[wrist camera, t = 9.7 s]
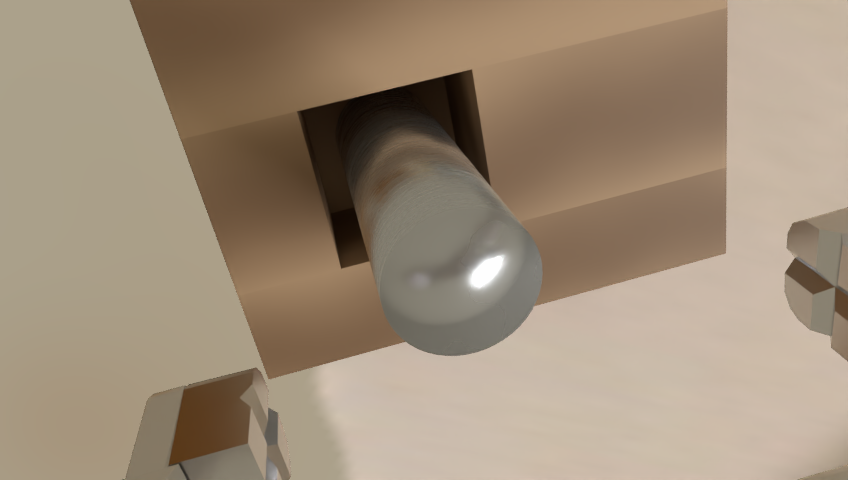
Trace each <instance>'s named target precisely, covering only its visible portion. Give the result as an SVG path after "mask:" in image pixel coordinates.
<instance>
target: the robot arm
mask: <svg viewBox="0 0 848 480" xmlns="http://www.w3.org/2000/svg"><path fill="white" fill-rule="evenodd" d="M787 249H788V250H789V251H790V252H791V253H792V255H793V256H794V257H795V259H794V260H793V262H792V263H791V265H790V266H789V268H788V269H787V271H786V272H785V294H786V297H787V300H788V303H789V306H790V309H791V310H792V311H793V313H794V314H795V316H796V317H797V319H798V320H799V321H800V322H801V323H803V324H804V325H805V326H806V327H807V328H808V329H809V330H812V331H815V332H819V333H822V334H825V335H829V336H830V339H831V348H832V349H833V350H835V351H836V352H837V353H838V354H840V355H841V356H842V357H843V358H844V359H846V360H847V361H848V207H847V208H843V209H840V210H836V211H833V212H829V213H826V214H822V215H819V216H815V217H812V218H808V219H805V220H801V221H798V222H794V223H793V224H792V226H791V228H790V230H789V232H788V237H787ZM268 392H269V390H268V387H267V385H266V383H265V380H264V378H263V376H262V374H261V372H260V371H259V370H258V369H257V368H253V369H249V370H245V371H241V372H237V373H233V374H229V375H225V376H221V377H217V378H213V379H209V380H205V381H201V382H197V383H193V384H189V385H188V386H181V387H177V388H174V389H170V390H166V391H163V392H159V393H155V394H153V395H152V396H151V397H149V398H148V400H147V402H146V406H145V409H144V413H143V417H142V420H141V424H140V427H139V431H138V435H137V438H136V442H135V445H134V449H133V452H132V456H131V460H130V463H129V467H128V470H127V474H126V478H125V479H123V480H289V479H290V477H291V467H290V456H289V450H288V443H287V439H286V435H285V432H284V429H283V425H282V423H281V420H280V417H279V415H278V413H277V412H275V411H273V410H271V409H270V408H268ZM798 480H848V465H845V466H842V467H838V468H835V469H831V470H828V471H825V472H821V473H818V474H814V475H811V476H808V477H804V478H801V479H798Z"/></svg>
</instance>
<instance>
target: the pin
mask: <svg viewBox="0 0 848 480" xmlns="http://www.w3.org/2000/svg"><path fill="white" fill-rule="evenodd" d="M336 141H337V146H338V149H339V153H340V157H341V160H342V164H343V167H344V171H345V175H346V178H347V182H348V186H349V189H350V193H351V196H352V200H353V204H354V207H355V211H356V214H357V218H358V222H359V225H360V229H361V233H362V236H363V240H364V243H365V247H366V251H367V254H368V258H369V261H370V265H371V269H372V272H373V276H374V280H375V283H376V287H377V290H378V294H379V298H380V301H381V305H382V308H383V311H384V314H385V317H386V319H387V320H388V322H389V324H390V326H391V327H392V328H393V330H394V331H395V332H396V333H397V334H398V335H399V336H400V337H401V338H402V339H403V340H404V341H406V342H407V343H408V344H410V345H412V346H414V347H415V348H417V349H420V350H422V351H425V352H428V353H432V354H436V355H444V356H458V355H466V354H471V353H475V352H478V351H481V350H484V349H487V348H489V347H491V346H493V345H495V344H497V343H499V342H500V341H502V340H504V339H505V338H506V337H508V336H509V335H510V334H512V333H513V332H514V331H515V330H516V329H517V328H518V327H519V326H520V325H521V324H522V323H523V322H524V320H525V319H526V318H527V317H528V315H529V314H530V312H531V311H532V309H533V307H534V305H535V303H536V301H537V298H538V295H539V293H540V288H541V284H542V274H543V272H542V261H541V256H540V253H539V250H538V248H537V245H536V243H535V242H534V240H533V238H532V237H531V235H530V234H529V233H528V232H527V230H526V229H525V228H524V227H523V225H522V224H521V223H520V222H519V221H518V219H517V218H516V217H515V216H514V214H513V213H512V212H511V211H510V210H509V208H508V207H507V206H506V205H505V203H504V202H503V201H502V200H501V199H500V197H499V196H498V195H497V194H496V192H495V191H494V190H493V189H492V188H491V186H490V185H489V184H488V183H487V181H486V180H485V179H484V178H483V177H482V175H481V174H480V173H479V172H478V170H477V169H476V168H475V167H474V166H473V164H472V163H471V162H470V161H469V159H468V158H467V157H466V156H465V155H464V153H463V152H462V151H461V150H460V148H459V147H458V146H457V145H456V144H455V142H454V141H453V140H452V139H451V137H450V136H449V135H448V134H447V133H446V131H445V130H444V129H443V128H442V126H441V125H440V124H439V123H438V122H437V120H436V119H435V118H434V117H433V115H432V114H431V113H430V112H429V111H428V109H427V108H426V107H425V106H424V104H423V103H422V102H421V101H420V100H419V99H418V98H417V97H416V96H415V95H413V94H412V93H411V92H409V91H407V90H405V89H402V88H400V87H396V88H392V89H388V90H384V91H380V92H375V93H371V94H367V95H363V96H359V97H355V98H352V99H351V100H350V101H349V102H348V103H347V104H346V106H345V107H344V109H343V110H342V112H341V114H340V116H339V119H338V122H337V127H336Z"/></svg>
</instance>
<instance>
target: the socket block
mask: <svg viewBox="0 0 848 480" xmlns="http://www.w3.org/2000/svg"><path fill="white" fill-rule="evenodd" d="M130 2H131V5H132V8H133V10H134V13H135V16H136V18H137V21H138V24H139V27H140V29H141V32H142V35H143V37H144V40H145V43H146V46H147V49H148V51H149V54H150V57H151V59H152V62H153V65H154V68H155V70H156V73H157V76H158V79H159V81H160V84H161V87H162V90H163V92H164V95H165V98H166V100H167V103H168V105H169V109H170V111H171V114H172V117H173V120H174V122H175V125H176V128H177V131H178V133H179V136H180V139H181V141H182V144H183V147H184V150H185V152H186V155H187V158H188V161H189V163H190V166H191V168H192V171H193V174H194V177H195V180H196V182H197V185H198V188H199V190H200V193H201V196H202V199H203V202H204V204H205V207H206V210H207V212H208V215H209V218H210V221H211V223H212V226H213V229H214V231H215V234H216V237H217V240H218V242H219V245H220V248H221V251H222V253H223V256H224V259H225V262H226V264H227V267H228V270H229V272H230V275H231V278H232V281H233V283H234V286H235V289H236V292H237V294H238V297H239V300H240V303H241V305H242V308H243V311H244V313H245V316H246V319H247V322H248V324H249V327H250V330H251V333H252V335H253V338H254V341H255V343H256V346H257V349H258V352H259V354H260V357H261V360H262V362H263V365H264V368H265V370H266V374H267V376H268V379H272V378H275V377H279V376H282V375H286V374H290V373H293V372H297V371H301V370H304V369H308V368H312V367H315V366H319V365H323V364H326V363H330V362H333V361H337V360H341V359H344V358H348V357H351V356H355V355H359V354H362V353H366V352H370V351H373V350H377V349H380V348H384V347H388V346H391V345H395V344H399V343H402V342H406V341H404V340H403V339H402V338H401V337H400V336H399V335H398V334H397V333H396V332H395V331H394V330H393V328H392V327H391V326H390V324H389V322H388V320H387V319H386V317H385V314H384V311H383V308H382V305H381V301H380V298H379V294H378V290H377V287H376V283H375V280H374V276H373V272H372V269H371V265H370V261H369V258H368V254H367V251H366V247H365V243H364V240H363V236H362V233H361V229H360V225H359V222H358V218H357V214H356V211H355V207H354V204H353V200H352V196H351V193H350V189H349V186H348V182H347V178H346V175H345V171H344V167H343V164H342V160H341V157H340V153H339V149H338V146H337V141H336V127H337V122H338V119H339V116H340V114H341V112H342V110H343V109H344V107H345V106H346V104H347V103H348V102H349V101H350V100H351V99H352V98H355V97H359V96H363V95H367V94H371V93H375V92H380V91H384V90H388V89H392V88H396V87H400V88H402V89H405V90H407V91H409V92H411V93H412V94H413V95H415V96H416V97H417V98H418V99H419V100H420V101H421V102H422V103H423V104H424V106H425V107H426V108H427V109H428V111H429V112H430V113H431V114H432V115H433V117H434V118H435V119H436V120H437V122H438V123H439V124H440V125H441V126H442V128H443V129H444V130H445V131H446V133H447V134H448V135H449V136H450V137H451V139H452V140H453V141H454V142H455V144H456V145H457V146H458V147H459V148H460V150H461V151H462V152H463V153H464V155H465V156H466V157H467V158H468V159H469V161H470V162H471V163H472V164H473V166H474V167H475V168H476V169H477V170H478V172H479V173H480V174H481V175H482V177H483V178H484V179H485V180H486V181H487V183H488V184H489V185H490V186H491V188H492V189H493V190H494V191H495V192H496V194H497V195H498V196H499V197H500V199H501V200H502V201H503V202H504V203H505V205H506V206H507V207H508V208H509V210H510V211H511V212H512V213H513V214H514V216H515V217H516V218H517V219H518V221H519V222H520V223H521V224H522V225H523V227H524V228H525V229H526V230H527V232H528V233H529V234H530V235H531V237H532V238H533V240H534V242H535V243H536V245H537V248H538V250H539V253H540V256H541V261H542V272H543V274H542V284H541V288H540V293H539V295H538V298H537V301H536V303H535V305H534V306H536V305H540V304H544V303H547V302H551V301H554V300H558V299H562V298H565V297H569V296H573V295H576V294H580V293H583V292H587V291H591V290H594V289H598V288H602V287H605V286H609V285H612V284H616V283H620V282H623V281H627V280H631V279H634V278H638V277H641V276H645V275H649V274H652V273H656V272H660V271H663V270H667V269H670V268H674V267H678V266H681V265H685V264H689V263H692V262H696V261H699V260H703V259H707V258H710V257H714V256H718V255H721V254H725V253H726V143H727V0H130Z"/></svg>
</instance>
